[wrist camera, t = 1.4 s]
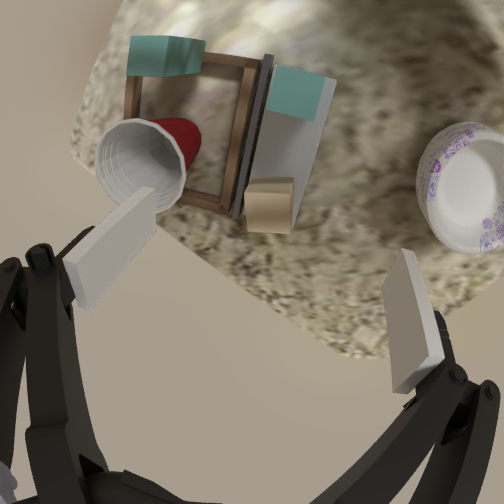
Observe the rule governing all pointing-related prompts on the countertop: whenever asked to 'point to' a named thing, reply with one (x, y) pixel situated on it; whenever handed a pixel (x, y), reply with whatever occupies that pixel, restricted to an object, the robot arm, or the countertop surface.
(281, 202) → the beech cube
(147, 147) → the plastic cup
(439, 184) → the paper bowls
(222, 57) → the frame
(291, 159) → the sled
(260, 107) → the divider rail
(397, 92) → the countertop surface
